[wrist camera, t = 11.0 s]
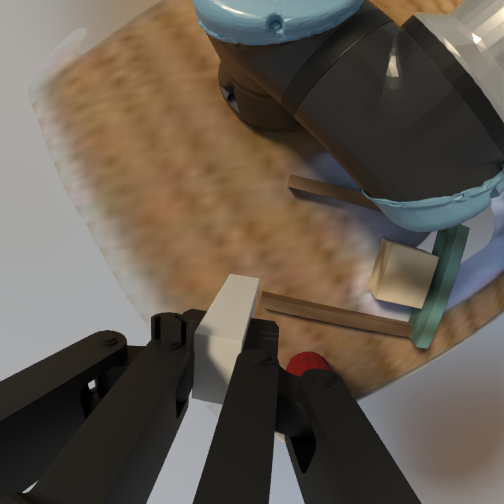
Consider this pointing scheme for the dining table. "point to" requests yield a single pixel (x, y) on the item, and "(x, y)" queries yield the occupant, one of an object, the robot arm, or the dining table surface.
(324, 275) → the dining table surface
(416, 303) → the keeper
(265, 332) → the robot arm
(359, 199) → the guide track
